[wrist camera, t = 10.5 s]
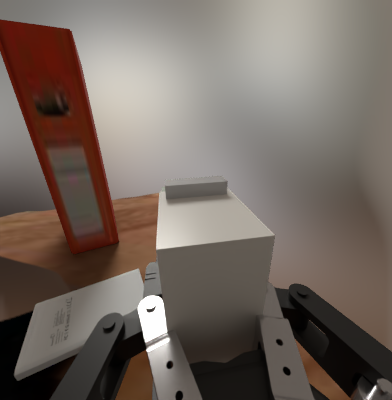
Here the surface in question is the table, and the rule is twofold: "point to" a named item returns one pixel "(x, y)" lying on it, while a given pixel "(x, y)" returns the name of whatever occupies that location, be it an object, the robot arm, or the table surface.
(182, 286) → the block
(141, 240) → the table surface
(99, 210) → the file binder
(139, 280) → the external hard drive
